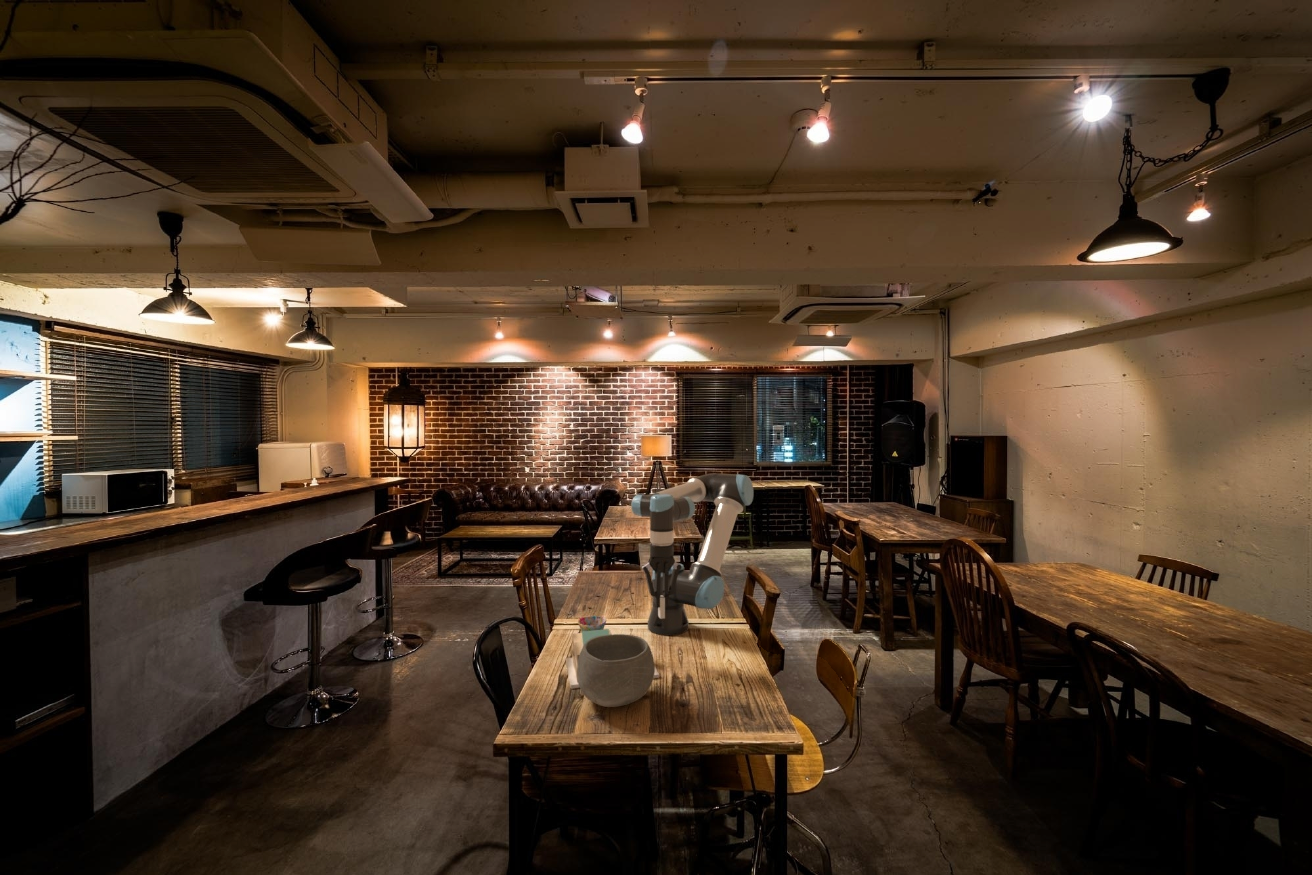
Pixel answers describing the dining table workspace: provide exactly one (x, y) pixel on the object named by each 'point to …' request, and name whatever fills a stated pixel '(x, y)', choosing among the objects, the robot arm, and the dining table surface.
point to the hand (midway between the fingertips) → (661, 616)
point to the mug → (591, 623)
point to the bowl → (615, 669)
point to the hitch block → (573, 662)
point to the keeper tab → (593, 634)
